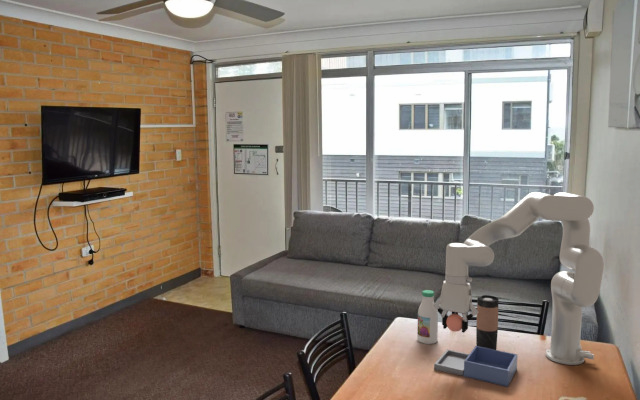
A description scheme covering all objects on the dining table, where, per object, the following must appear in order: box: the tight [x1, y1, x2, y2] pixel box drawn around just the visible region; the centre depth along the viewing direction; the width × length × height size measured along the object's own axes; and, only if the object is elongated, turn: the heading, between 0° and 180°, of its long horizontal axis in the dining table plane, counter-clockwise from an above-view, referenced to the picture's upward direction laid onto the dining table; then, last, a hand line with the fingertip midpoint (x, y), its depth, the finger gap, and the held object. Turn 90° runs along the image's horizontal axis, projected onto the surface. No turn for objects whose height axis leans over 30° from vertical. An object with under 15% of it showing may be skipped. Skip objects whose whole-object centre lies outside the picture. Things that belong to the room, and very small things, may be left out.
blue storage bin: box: [463, 345, 518, 388], centre depth 175 cm, size 14×14×6 cm
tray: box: [433, 349, 470, 377], centre depth 181 cm, size 10×14×2 cm
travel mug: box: [475, 294, 500, 350], centre depth 192 cm, size 8×8×20 cm
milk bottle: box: [416, 289, 439, 345], centre depth 201 cm, size 8×8×20 cm
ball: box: [446, 313, 463, 332], centre depth 179 cm, size 6×6×6 cm
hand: (454, 328), depth 180 cm, fingers closed on ball, 5 cm apart
